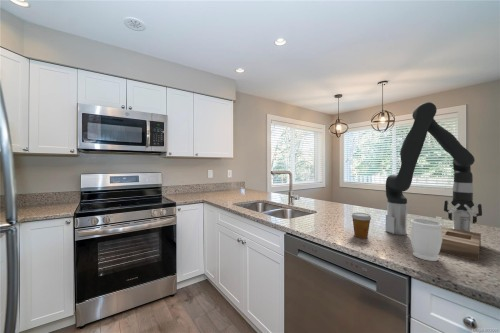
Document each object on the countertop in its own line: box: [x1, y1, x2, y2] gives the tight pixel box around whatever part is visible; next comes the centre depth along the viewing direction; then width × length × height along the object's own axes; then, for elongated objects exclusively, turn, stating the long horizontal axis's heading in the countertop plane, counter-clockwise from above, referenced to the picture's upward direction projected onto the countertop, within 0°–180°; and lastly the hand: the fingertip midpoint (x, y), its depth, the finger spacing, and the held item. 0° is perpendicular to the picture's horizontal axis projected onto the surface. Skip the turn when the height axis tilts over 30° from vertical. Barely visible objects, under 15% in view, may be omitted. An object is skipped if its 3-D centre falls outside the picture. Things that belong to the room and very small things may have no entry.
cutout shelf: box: [439, 226, 482, 261], centre depth 100 cm, size 24×14×6 cm, turn 131°
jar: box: [409, 218, 443, 262], centre depth 90 cm, size 11×10×15 cm
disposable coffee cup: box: [351, 212, 372, 239], centre depth 115 cm, size 10×10×12 cm
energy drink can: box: [453, 209, 471, 232], centre depth 113 cm, size 6×6×15 cm
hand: (461, 221), depth 113 cm, fingers open, 8 cm apart
